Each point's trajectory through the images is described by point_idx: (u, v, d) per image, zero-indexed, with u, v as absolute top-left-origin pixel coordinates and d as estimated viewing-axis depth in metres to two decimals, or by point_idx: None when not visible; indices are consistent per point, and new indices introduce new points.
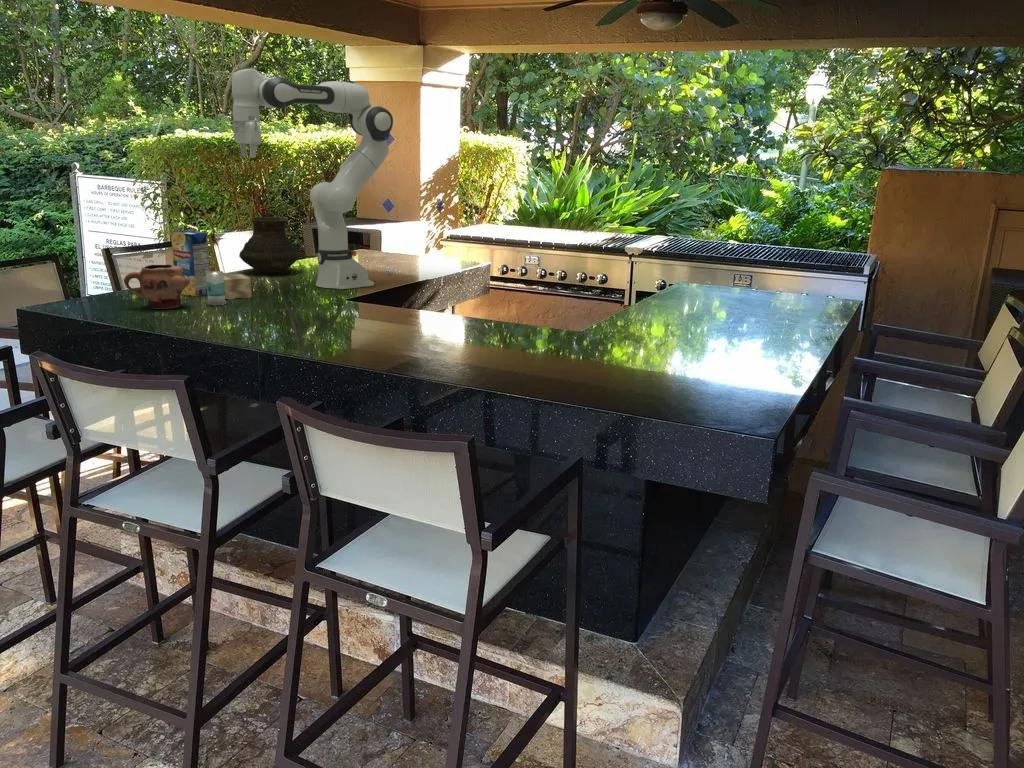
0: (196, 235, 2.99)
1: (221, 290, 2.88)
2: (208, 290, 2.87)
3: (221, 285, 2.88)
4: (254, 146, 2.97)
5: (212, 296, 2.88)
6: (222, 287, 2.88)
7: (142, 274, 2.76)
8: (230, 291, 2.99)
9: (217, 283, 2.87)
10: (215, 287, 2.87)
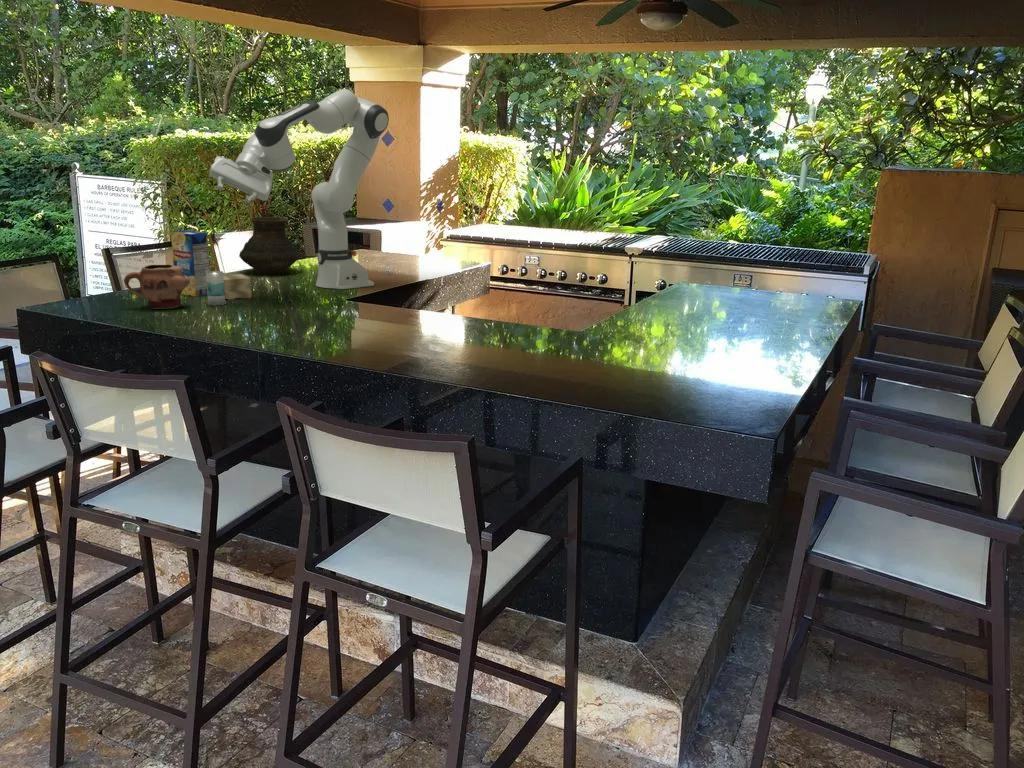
0: (196, 235, 2.99)
1: (221, 290, 2.88)
2: (208, 290, 2.87)
3: (221, 285, 2.88)
4: (218, 178, 2.83)
5: (212, 296, 2.88)
6: (222, 287, 2.88)
7: (142, 274, 2.76)
8: (230, 291, 2.99)
9: (217, 283, 2.87)
10: (215, 287, 2.87)
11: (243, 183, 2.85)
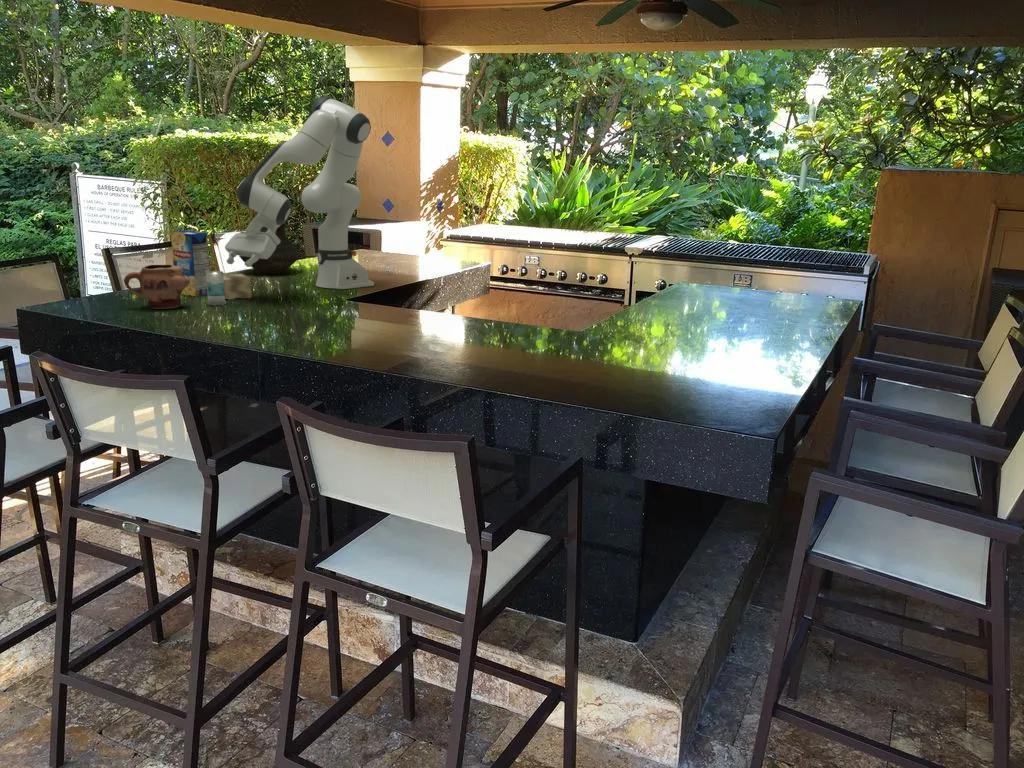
0: (196, 235, 2.99)
1: (221, 290, 2.88)
2: (208, 290, 2.87)
3: (221, 285, 2.88)
4: None
5: (212, 296, 2.88)
6: (222, 287, 2.88)
7: (142, 274, 2.76)
8: (230, 291, 2.99)
9: (217, 283, 2.87)
10: (215, 287, 2.87)
11: (245, 249, 2.93)
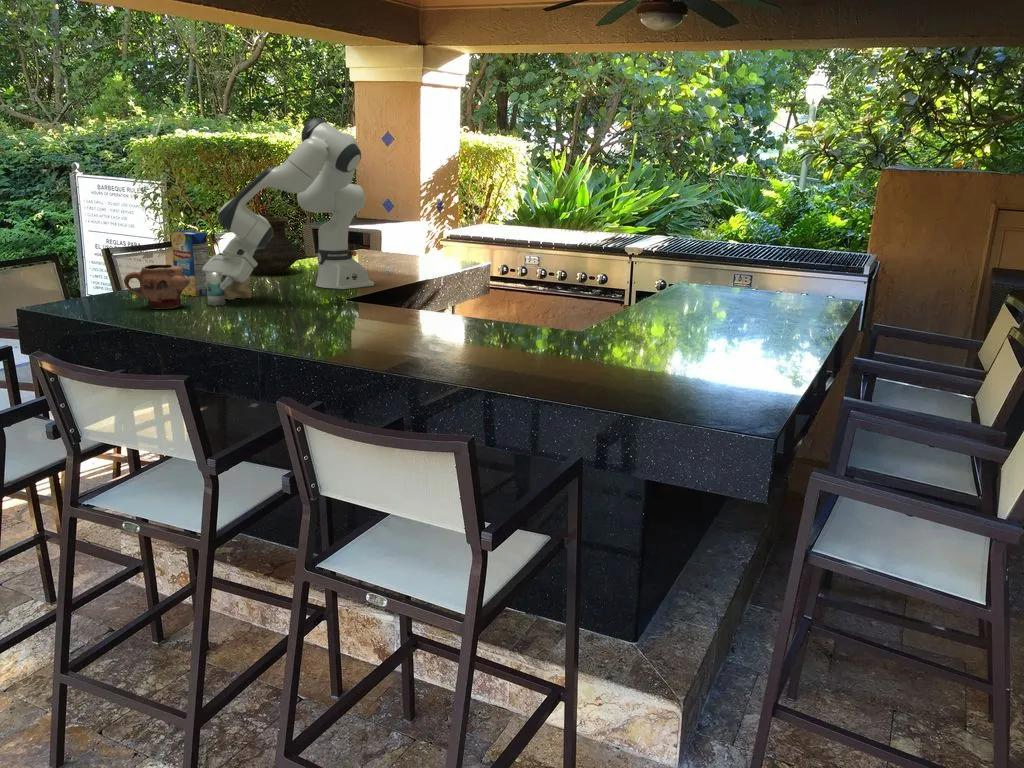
0: (196, 235, 2.99)
1: (221, 290, 2.88)
2: (208, 290, 2.87)
3: None
4: None
5: (212, 296, 2.87)
6: None
7: (142, 274, 2.76)
8: (230, 291, 2.99)
9: (217, 283, 2.87)
10: (215, 287, 2.87)
11: None
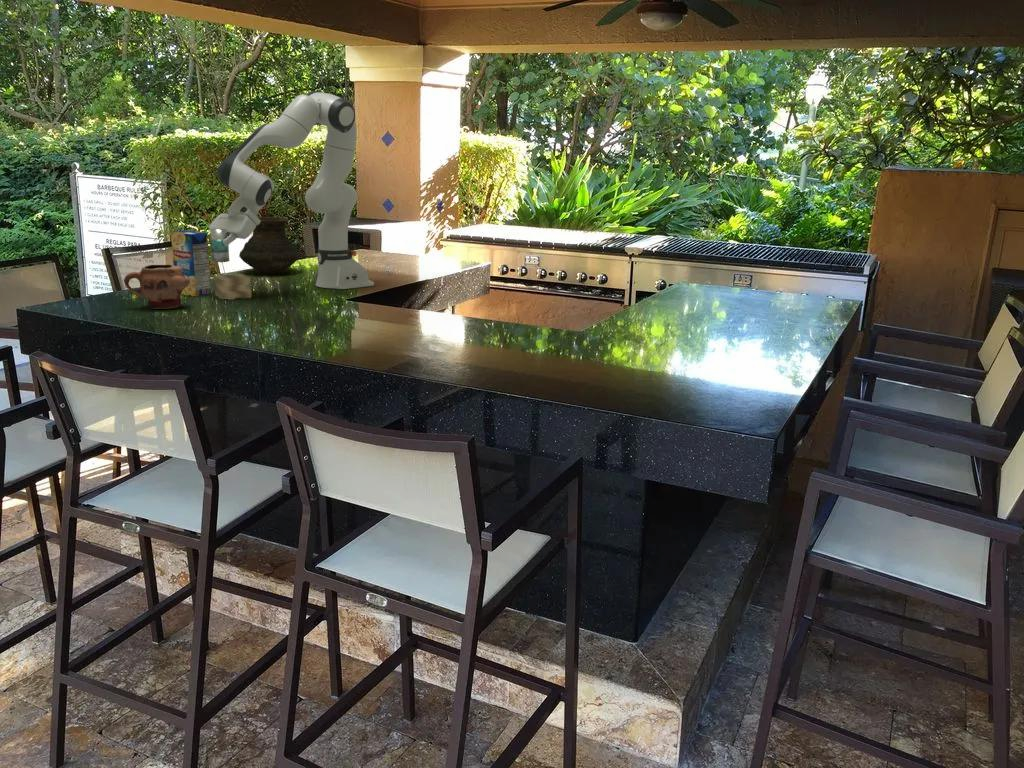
0: (196, 235, 2.99)
1: (225, 247, 2.96)
2: (212, 247, 2.95)
3: None
4: None
5: (216, 252, 2.95)
6: None
7: (142, 274, 2.76)
8: (230, 291, 2.99)
9: (221, 239, 2.94)
10: (219, 243, 2.94)
11: None
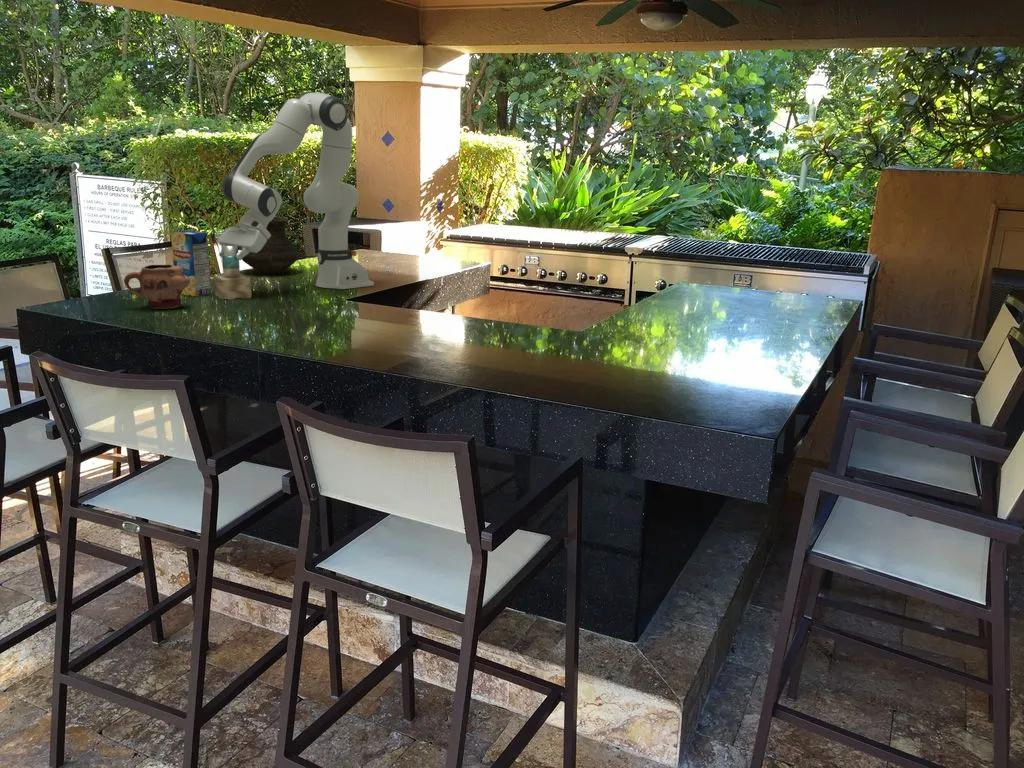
0: (196, 235, 2.99)
1: (236, 263, 3.01)
2: (223, 263, 3.00)
3: None
4: None
5: (227, 268, 3.00)
6: (237, 260, 3.01)
7: (142, 274, 2.76)
8: (230, 291, 2.99)
9: (233, 256, 2.99)
10: (231, 259, 2.99)
11: (236, 243, 3.01)
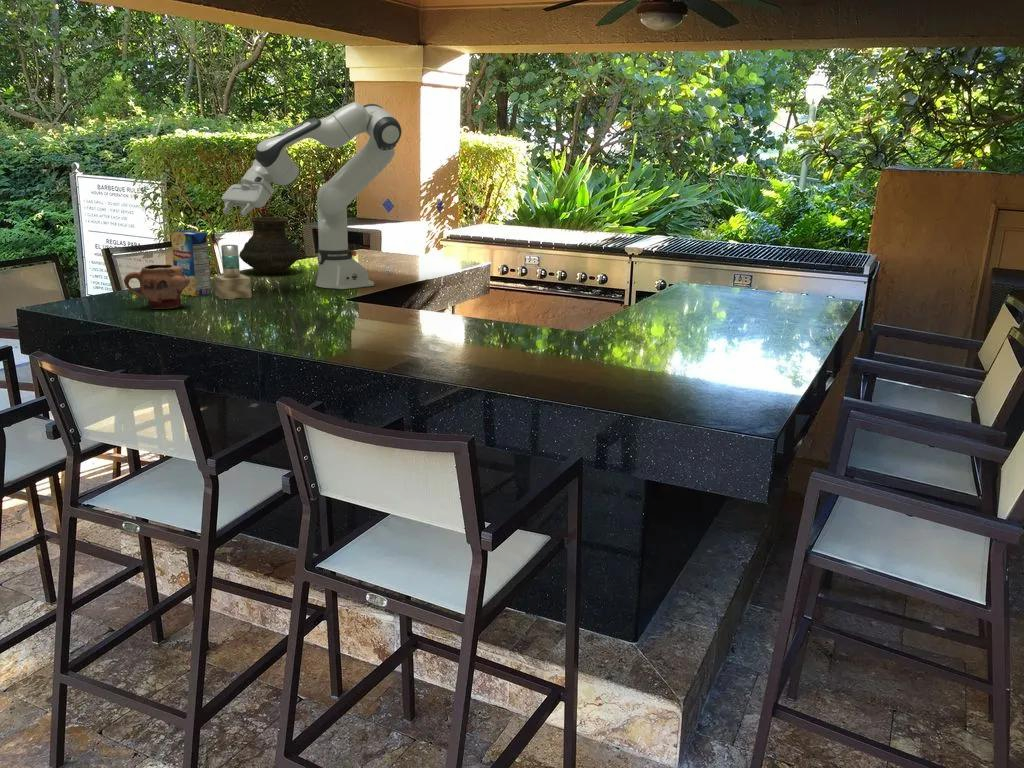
0: (196, 235, 2.99)
1: (236, 263, 3.01)
2: (223, 263, 3.00)
3: (236, 258, 3.00)
4: None
5: (227, 268, 3.00)
6: (237, 260, 3.01)
7: (142, 274, 2.76)
8: (230, 291, 2.99)
9: (233, 256, 2.99)
10: (231, 260, 2.99)
11: (240, 199, 3.04)
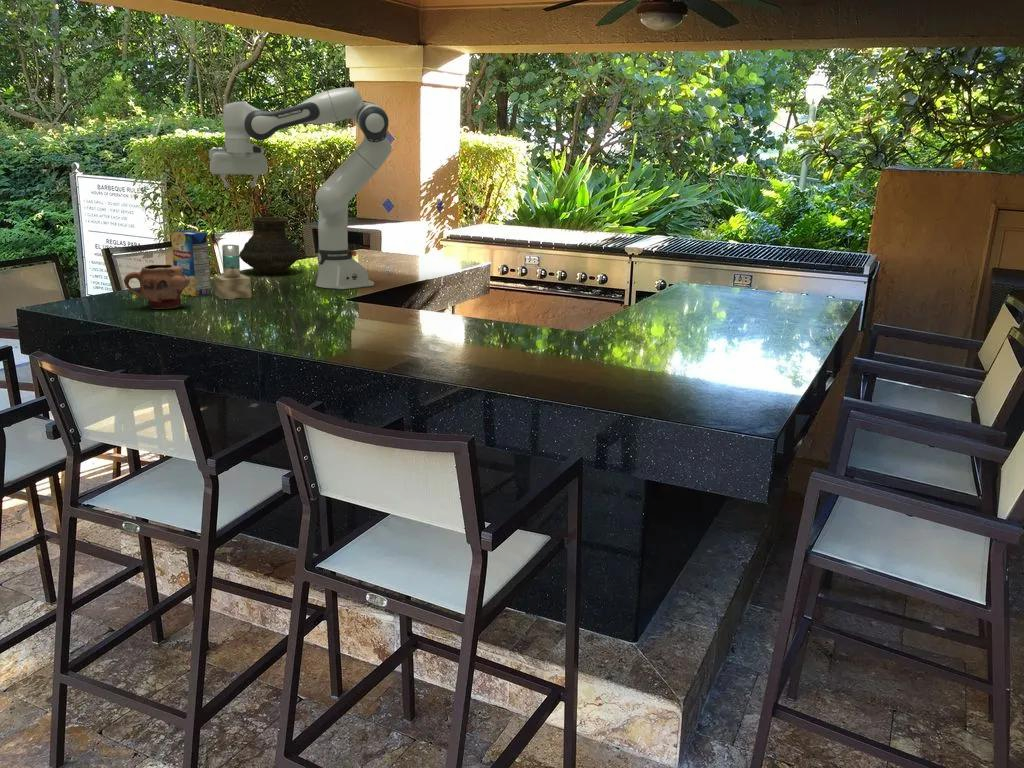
0: (196, 235, 2.99)
1: (237, 263, 3.01)
2: (224, 263, 3.00)
3: (237, 258, 3.01)
4: (221, 176, 3.07)
5: (228, 268, 3.00)
6: (238, 260, 3.01)
7: (142, 274, 2.76)
8: (230, 291, 2.99)
9: (234, 256, 2.99)
10: (232, 259, 2.99)
11: (244, 173, 3.10)
